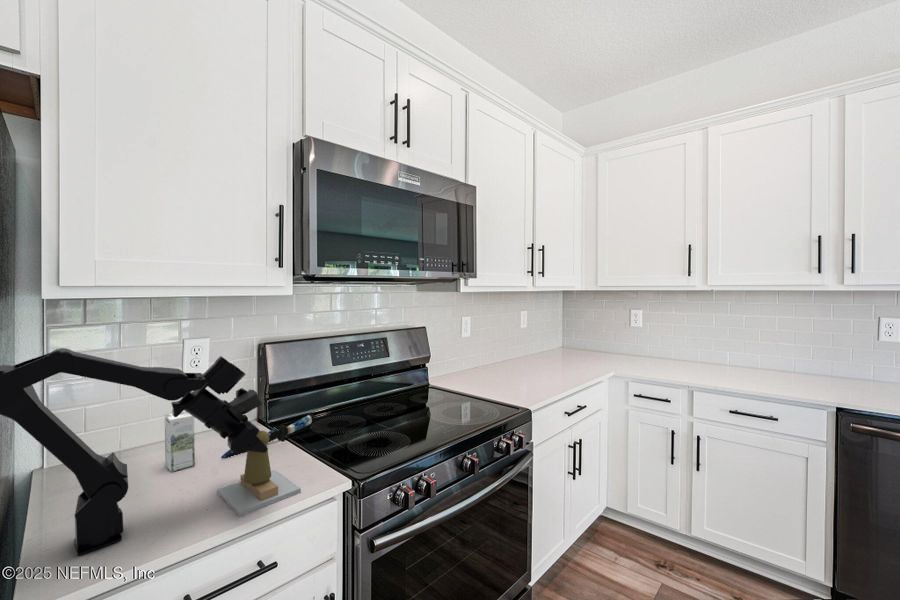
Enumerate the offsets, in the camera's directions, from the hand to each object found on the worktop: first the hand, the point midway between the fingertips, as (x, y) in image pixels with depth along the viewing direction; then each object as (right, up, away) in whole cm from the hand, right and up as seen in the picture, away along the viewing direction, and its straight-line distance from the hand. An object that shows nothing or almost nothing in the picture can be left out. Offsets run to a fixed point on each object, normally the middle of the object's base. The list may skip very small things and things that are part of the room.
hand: (263, 447), depth 98 cm
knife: (-11, -10, +30) cm, 33 cm away
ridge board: (-1, -11, 0) cm, 11 cm away
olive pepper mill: (-1, -7, -1) cm, 7 cm away
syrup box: (-29, -10, +14) cm, 34 cm away
